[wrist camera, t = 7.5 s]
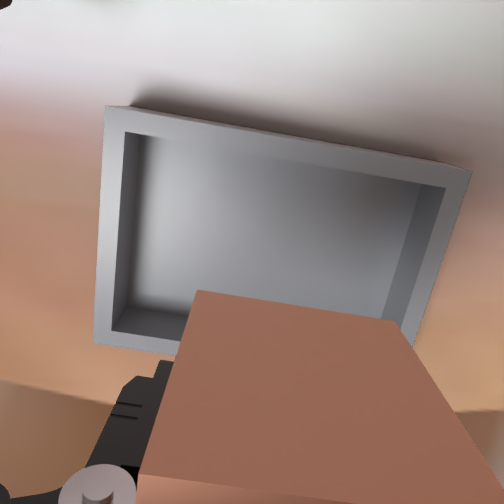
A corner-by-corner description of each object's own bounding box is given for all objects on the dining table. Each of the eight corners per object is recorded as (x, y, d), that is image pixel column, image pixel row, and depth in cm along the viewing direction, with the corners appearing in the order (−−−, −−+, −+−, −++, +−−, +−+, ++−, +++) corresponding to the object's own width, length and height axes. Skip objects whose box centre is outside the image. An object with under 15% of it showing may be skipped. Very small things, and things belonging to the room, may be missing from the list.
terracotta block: (394, 321, 12) (529, 527, 6) (346, 472, 13) (413, 742, 8) (197, 289, 11) (138, 473, 6) (174, 448, 13) (113, 709, 7)
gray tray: (440, 161, 24) (472, 171, 21) (379, 353, 28) (397, 389, 25) (128, 105, 23) (105, 106, 20) (113, 312, 28) (92, 343, 24)
